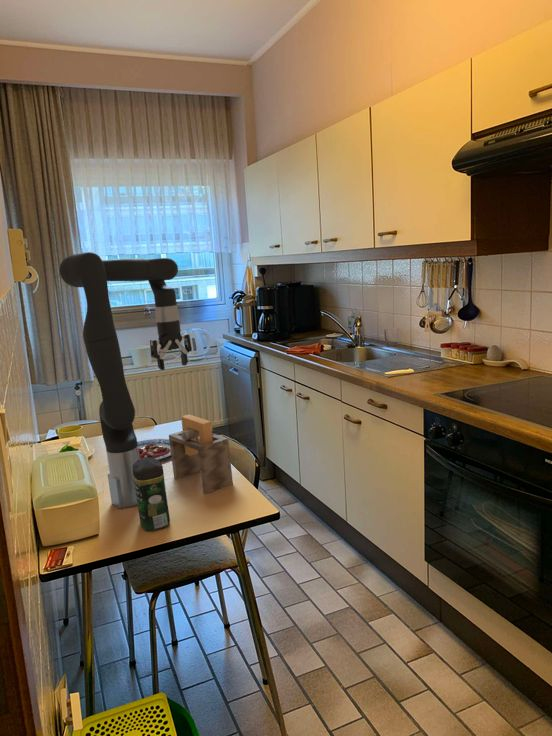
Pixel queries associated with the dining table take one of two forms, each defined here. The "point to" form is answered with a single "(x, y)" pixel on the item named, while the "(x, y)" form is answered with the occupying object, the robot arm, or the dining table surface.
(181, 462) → the shelf stand
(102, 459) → the dining table surface
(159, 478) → the coffee jar
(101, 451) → the dining table surface
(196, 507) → the dining table surface
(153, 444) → the ceramic plate
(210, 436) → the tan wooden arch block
